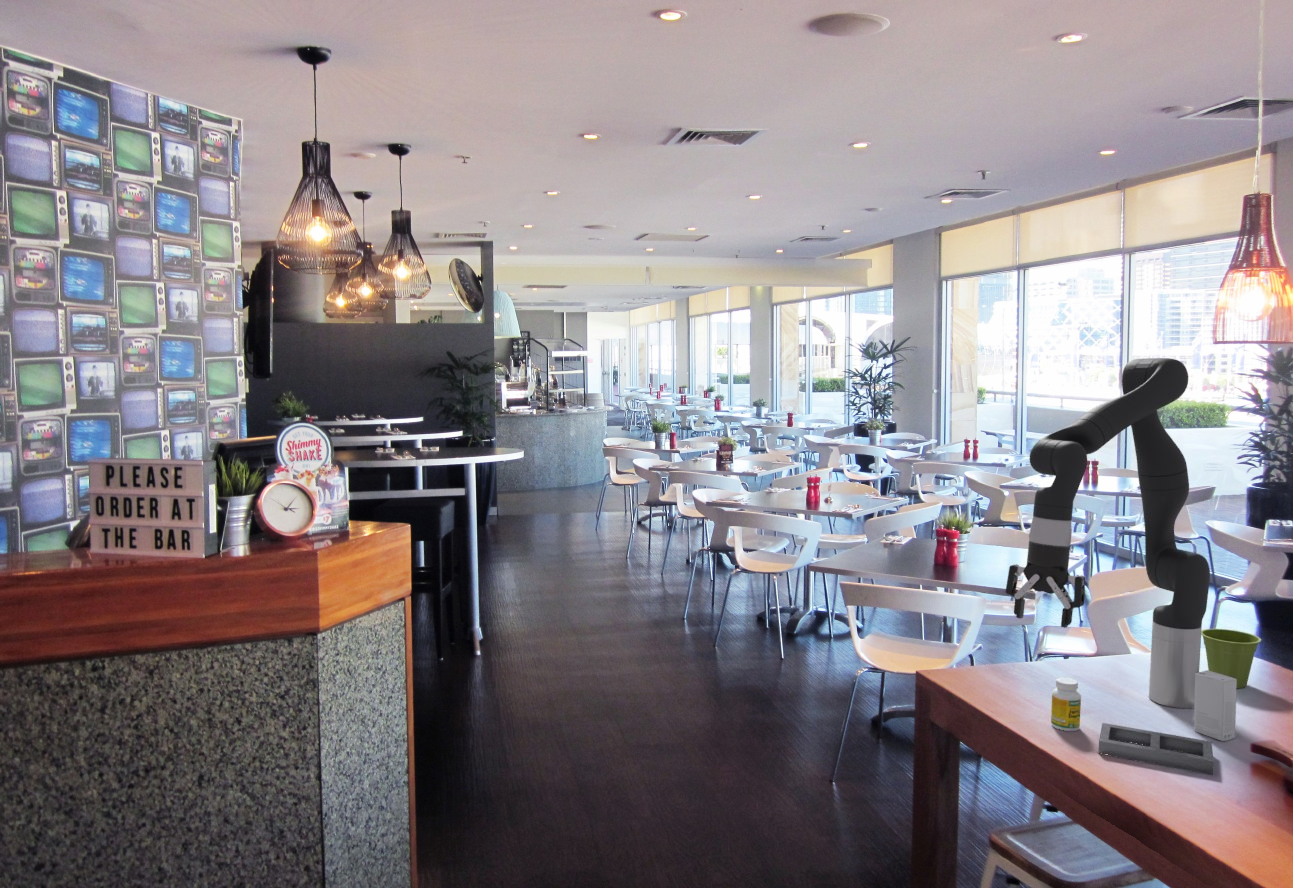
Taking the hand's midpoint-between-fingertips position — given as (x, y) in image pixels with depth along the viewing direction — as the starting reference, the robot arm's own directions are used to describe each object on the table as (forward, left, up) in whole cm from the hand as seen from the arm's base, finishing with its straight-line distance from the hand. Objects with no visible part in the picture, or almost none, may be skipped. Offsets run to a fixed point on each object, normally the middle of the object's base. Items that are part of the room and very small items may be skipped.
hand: (1041, 622), depth 184 cm
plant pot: (-51, +35, -23) cm, 66 cm away
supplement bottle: (-5, +5, -23) cm, 24 cm away
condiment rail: (+1, +21, -22) cm, 30 cm away
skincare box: (-15, +31, -23) cm, 41 cm away
